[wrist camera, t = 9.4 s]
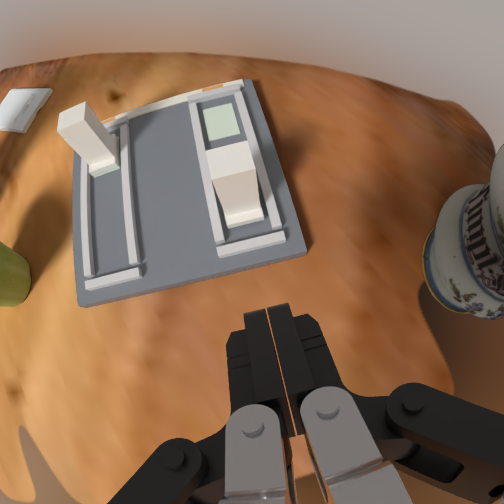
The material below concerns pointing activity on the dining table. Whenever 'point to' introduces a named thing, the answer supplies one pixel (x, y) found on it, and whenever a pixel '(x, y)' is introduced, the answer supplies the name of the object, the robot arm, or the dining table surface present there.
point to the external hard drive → (22, 108)
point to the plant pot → (13, 277)
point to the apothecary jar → (469, 249)
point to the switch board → (177, 199)
